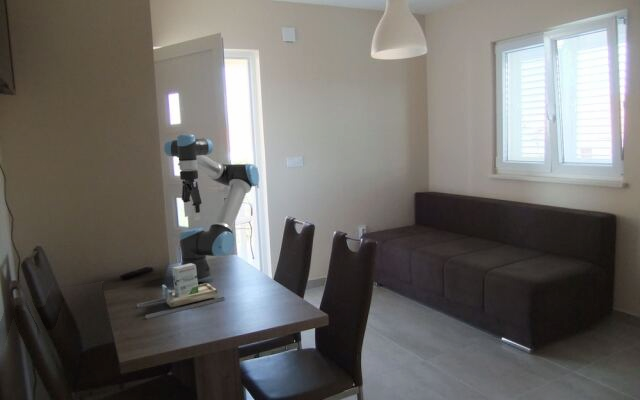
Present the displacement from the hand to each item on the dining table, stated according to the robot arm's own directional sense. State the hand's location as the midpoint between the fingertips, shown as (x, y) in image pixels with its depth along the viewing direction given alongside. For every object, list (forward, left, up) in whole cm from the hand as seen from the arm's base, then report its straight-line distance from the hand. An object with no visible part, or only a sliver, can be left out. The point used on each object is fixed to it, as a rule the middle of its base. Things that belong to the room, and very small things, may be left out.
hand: (192, 218), depth 204 cm
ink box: (+16, -10, -28) cm, 34 cm away
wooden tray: (+16, -9, -32) cm, 37 cm away
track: (+16, -12, -32) cm, 38 cm away
